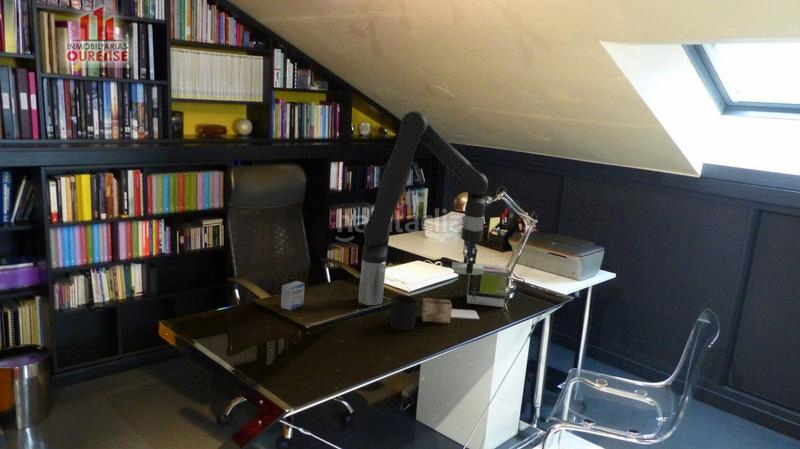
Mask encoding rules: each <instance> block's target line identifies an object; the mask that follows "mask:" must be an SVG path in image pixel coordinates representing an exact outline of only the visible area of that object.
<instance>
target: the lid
mask: <svg viewBox="0 0 800 449" xmlns="http://www.w3.org/2000/svg"><path fill="white" fill-rule="evenodd" d="M476 263H477V262H475V264H473V271H472V274H470V275H479V274H484V268H483V266H482V265H481V264H482V263H478V264H476ZM451 268H452V270H453V272H454V273H456V274H457V275H458V274H459V275H468V274H467V273H466V268H467V263H463V261H461V262H459V261H452V263H451Z"/></svg>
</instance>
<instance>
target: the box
mask: <svg viewBox="0 0 800 449" xmlns="http://www.w3.org/2000/svg"><path fill="white" fill-rule="evenodd" d="M421 309H422V310H421V320H422V322H424V323H425V322H426V323H427V322H428V323H440V324H451V319H452V318H451V311H452V309H453V305H452V302H451V300H450V299H439V298H436V299H435V298H423V299H422V308H421Z"/></svg>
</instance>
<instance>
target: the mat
mask: <svg viewBox="0 0 800 449" xmlns="http://www.w3.org/2000/svg"><path fill="white" fill-rule="evenodd" d="M452 318H453V319H466V320H468V319H469V320H480V317H479V315H478V313H477V311H476V310H473V309H458V308H452V311H451V319H452Z"/></svg>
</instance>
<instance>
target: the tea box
mask: <svg viewBox="0 0 800 449" xmlns="http://www.w3.org/2000/svg"><path fill="white" fill-rule="evenodd" d="M475 263H476V264H479V263H477V262H475ZM480 264H481V265H482V266H483V268H484V274H479V275H470V274H468V281H467V290H466V292H467V293H466V303H467V304H474V305H483V306H490V307H500V308H504V306H505V299H506V292H507V284H508V276H509V275H508V274H509V273H508V269H507V266H506V265H505V266H504V265H498V264H497V265H495V264H486V263H480Z"/></svg>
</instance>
